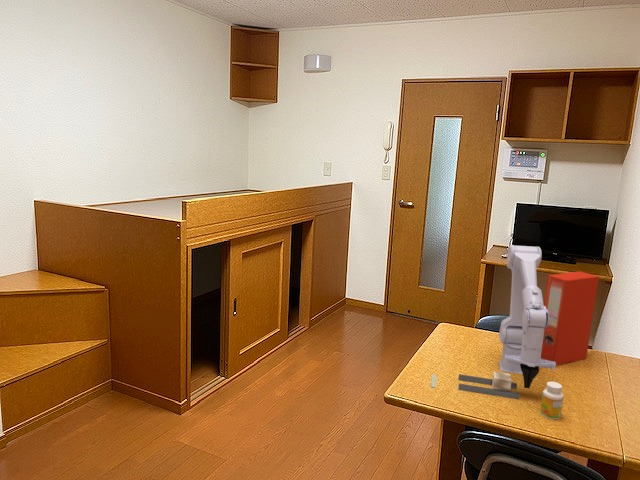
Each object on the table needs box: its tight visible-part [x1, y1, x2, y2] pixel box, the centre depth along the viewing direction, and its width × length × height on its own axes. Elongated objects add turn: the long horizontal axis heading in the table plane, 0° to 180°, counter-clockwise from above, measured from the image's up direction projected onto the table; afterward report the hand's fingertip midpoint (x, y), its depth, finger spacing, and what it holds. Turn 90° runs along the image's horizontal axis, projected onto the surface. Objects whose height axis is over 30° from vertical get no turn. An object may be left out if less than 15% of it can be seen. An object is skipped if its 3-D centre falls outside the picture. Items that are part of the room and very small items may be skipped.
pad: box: [430, 373, 437, 389], centre depth 160 cm, size 8×9×1 cm
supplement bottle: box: [540, 381, 564, 420], centre depth 142 cm, size 5×5×10 cm
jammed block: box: [491, 371, 512, 392], centre depth 155 cm, size 5×5×5 cm
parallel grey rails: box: [457, 373, 520, 400], centre depth 156 cm, size 18×8×2 cm, turn 74°
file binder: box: [541, 270, 600, 366], centre depth 179 cm, size 8×17×32 cm, turn 115°
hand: (526, 386), depth 153 cm, fingers closed
